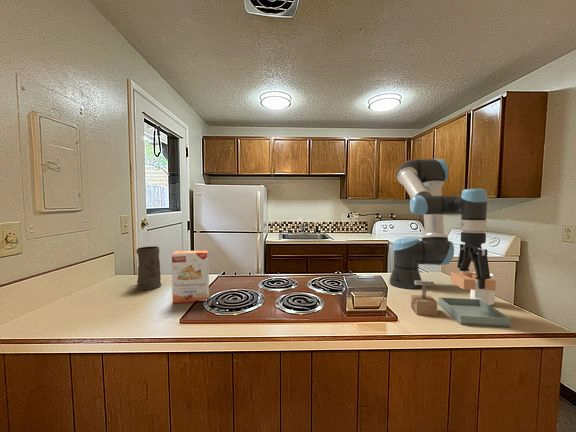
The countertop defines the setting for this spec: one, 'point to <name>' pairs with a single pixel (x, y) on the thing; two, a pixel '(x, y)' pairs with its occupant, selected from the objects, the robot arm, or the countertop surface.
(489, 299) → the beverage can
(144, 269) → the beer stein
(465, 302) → the tray
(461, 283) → the orange square frame
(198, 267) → the cracker box
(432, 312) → the block
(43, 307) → the countertop surface
